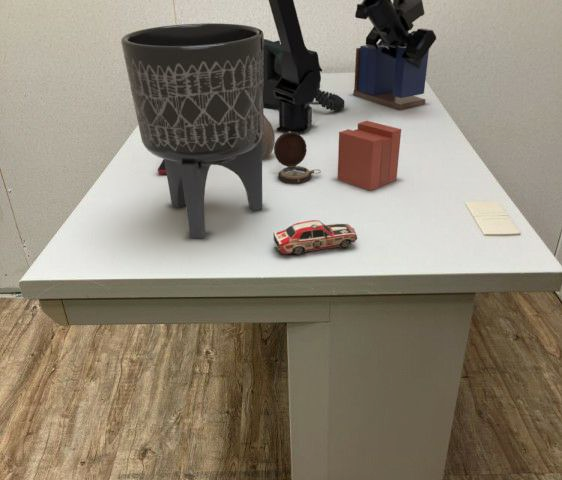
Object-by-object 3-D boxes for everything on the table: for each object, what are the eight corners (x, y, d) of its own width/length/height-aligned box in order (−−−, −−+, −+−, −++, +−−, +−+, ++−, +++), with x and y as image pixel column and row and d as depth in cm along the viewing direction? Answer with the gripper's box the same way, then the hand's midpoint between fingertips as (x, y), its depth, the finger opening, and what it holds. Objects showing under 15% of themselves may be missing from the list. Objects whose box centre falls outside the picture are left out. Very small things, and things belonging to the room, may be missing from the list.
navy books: (373, 95, 154) (376, 47, 148) (358, 91, 159) (360, 44, 152) (396, 91, 158) (400, 44, 151) (380, 86, 162) (383, 40, 155)
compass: (282, 185, 109) (281, 144, 105) (274, 171, 115) (273, 131, 111) (325, 181, 110) (325, 140, 106) (314, 167, 117) (315, 128, 112)
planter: (257, 245, 90) (246, 47, 74) (133, 238, 93) (96, 46, 77) (280, 196, 105) (275, 22, 89) (173, 191, 108) (149, 23, 92)
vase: (271, 162, 119) (269, 116, 114) (237, 161, 120) (234, 115, 115) (278, 151, 125) (277, 106, 119) (246, 150, 126) (243, 105, 120)
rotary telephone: (368, 98, 157) (372, 32, 148) (328, 118, 143) (330, 47, 134) (262, 85, 172) (260, 24, 163) (216, 102, 158) (211, 37, 149)
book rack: (399, 109, 148) (404, 59, 141) (353, 95, 160) (355, 48, 153) (425, 104, 151) (430, 54, 144) (377, 90, 164) (380, 44, 157)
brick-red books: (337, 179, 111) (338, 129, 106) (363, 169, 115) (366, 120, 109) (370, 190, 106) (373, 138, 101) (396, 180, 110) (401, 129, 105)
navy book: (401, 98, 147) (405, 47, 140) (392, 95, 149) (396, 45, 142) (424, 93, 150) (429, 43, 143) (415, 91, 152) (420, 42, 145)
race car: (275, 252, 92) (270, 224, 89) (352, 233, 92) (349, 205, 89) (280, 267, 88) (274, 239, 85) (360, 248, 88) (357, 219, 85)
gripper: (436, -13, 127) (464, 40, 138) (378, -19, 140) (409, 30, 151) (403, 33, 129) (434, 82, 140) (350, 23, 141) (382, 69, 153)
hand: (415, 64), depth 146 cm, fingers closed on navy book, 3 cm apart
